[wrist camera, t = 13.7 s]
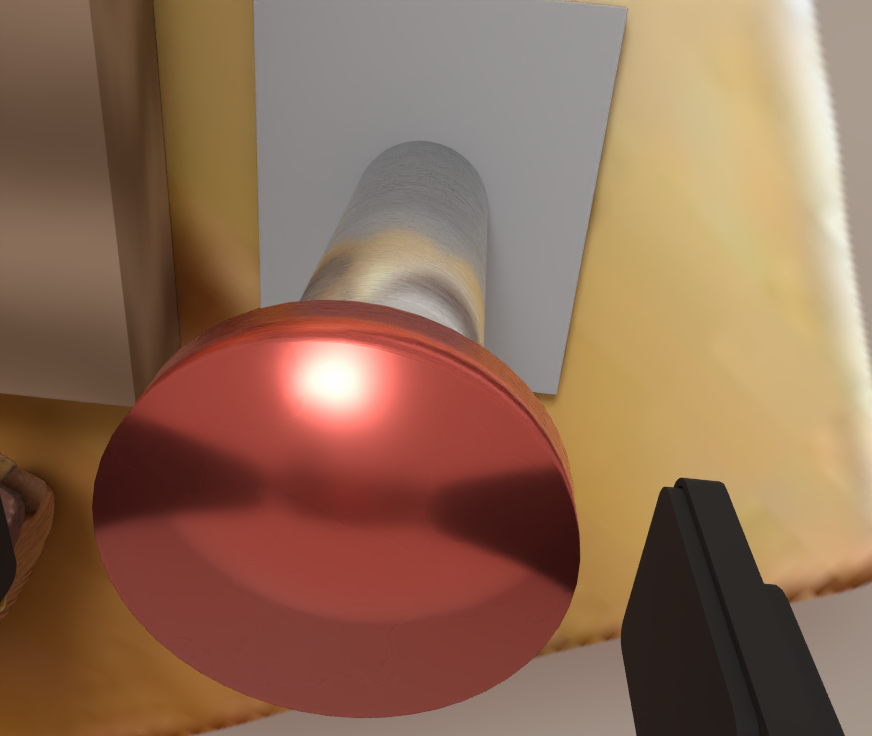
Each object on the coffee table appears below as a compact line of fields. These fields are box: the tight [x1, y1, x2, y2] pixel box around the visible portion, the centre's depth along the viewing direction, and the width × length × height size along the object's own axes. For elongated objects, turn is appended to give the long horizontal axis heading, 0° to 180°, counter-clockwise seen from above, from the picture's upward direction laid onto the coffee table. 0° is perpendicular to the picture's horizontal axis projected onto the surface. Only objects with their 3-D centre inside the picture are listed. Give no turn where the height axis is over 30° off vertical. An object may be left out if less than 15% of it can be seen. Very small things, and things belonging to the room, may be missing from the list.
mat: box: [253, 0, 628, 395], centre depth 25 cm, size 12×10×1 cm
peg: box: [92, 141, 580, 718], centre depth 18 cm, size 7×7×15 cm
